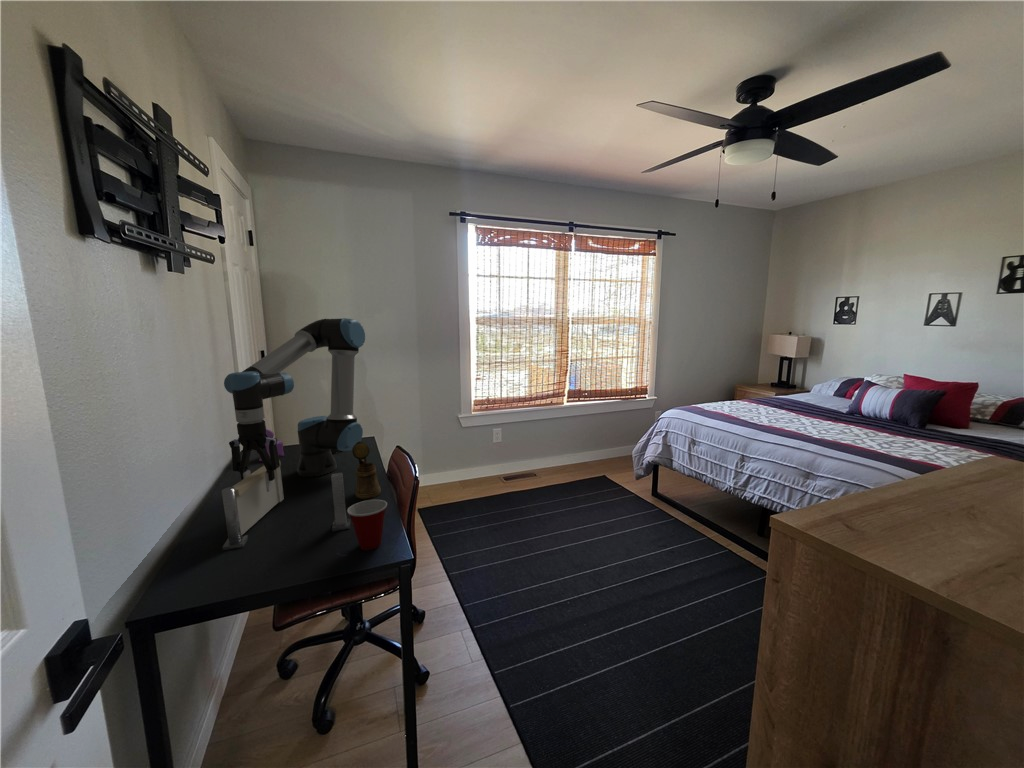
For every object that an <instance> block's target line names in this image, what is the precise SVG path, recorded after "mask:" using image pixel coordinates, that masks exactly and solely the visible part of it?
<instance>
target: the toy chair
mask: <svg viewBox="0 0 1024 768" xmlns="http://www.w3.org/2000/svg"><path fill="white" fill-rule="evenodd" d="M266 435H267V436H268V438H272V439H274V438H275V434H274V432H273V431H272V430H270V429H267V428H266ZM265 446H266V448H267V449H266V450H267V452H268V454H269V456H270V452H269V445H268V443H267V442H266V443H265ZM276 446H277V451H278V457H280V456H283V457H284V456H285V453H284V443H283V440H277V444H276ZM258 461H259V462H263V461H262V459H261V457H260V456H259V460H258Z"/></svg>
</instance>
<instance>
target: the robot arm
mask: <svg viewBox="0 0 1024 768" xmlns="http://www.w3.org/2000/svg"><path fill="white" fill-rule="evenodd" d="M365 342H366V332H365V329H364V326H362V324H361V322H359V320H357V319H354V318H346V317H345V318H344V317H343V318H321V319H317V320H316V321H314V322H311V323H309V324H306V325H305V326H304V327H302V328H301V329H299V330H297V331H296V332H295V333H294V336H293V337H292V338H290V339H289V340H287V341H286V342H285V343H283V344H281V345H280V346H278V347H276V349H274V350H272V351H271V352H270V353H267V355H265V356H264V357H262V358H261V359H259V360H257V361H256V362H254V363H253V364H252V365H250V366H249V367H247V368H245V369H244V370H243V371H236V372H231V373H228V374H227V375H226V377H225V378H224V381H223V386H224V389H225V391H227V392H228V393H229V394H231V395H232V399H233V406H234V415H235V419H236V420H235V422H237V424H236V429H237V430H236V431H237V434H238V437H237V438H236V439H233V440H231V441H228V445H229V447H230V450H231V463H232V471H233V472H239V473H240V481H241V480H243V479H244V478H246V477H247V476H249V475H250V474H252V473H251V469H249V467H248V466H249V462H250V458H251V457H250V456H251V454H252V451H256V453H257V454H258V455H259V458H260V457H261V459H262V461H261V462H262V464H263V466H265V468H266V470H267V471H266V472H265V482H266V490H267V492H269V491H271V490H272V489H273V480H274V479H275V475H274V470H276V469H277V468H278V467H279V466H280V463H279V460H280V458H279V457H280V456H278V451H277V446H276V444H277V441H278V438H277V437H273V438H268V436H267V435H266V429H267V426H266V421H265V420H264V419H265V418H266V417H265V410H264V401H263V400H267V399H272V398H276V397H280V396H282V397H283V396H284V395H288V394H290V393H291V392H292V391H293V390H294V388H295V381H294V378H293V377H292V376H291V375H290V374H289V373H287V372H282V371H284V370H285V369H286V368H288V367H289V366H291V365H293V363H295V362H296V361H298V360H299V359H300V358H302V357H303V356H304V355H307V354H308V353H312V352H314V351H315V350H318V349H321V348H327V351H328V352H329V354H331V379H330V380H331V382H330V384H331V385H330V387H331V388H330V414H329V415H319V416H318V415H317V416H312V417H307V418H304V419H302V420H300V421H299V422H298V423H297V436H298V445H299V453H300V455H299V460H298V464H297V468H296V470H297V475H298V476H300V477H304V478H313V476H315V477H321V476H325V475H327V473H328V474H330V472H331V473H332V472H334V471H335V470H336V469H337V468H338V467H337V461H336V459H335V457H334V455H333V454H332V453H331V449H333V450H340V451H342V452H344V451H345V452H346V451H352V448H353V446H354V445H355V444H356V443H357V442H359V441H360V442H362V438H363V434H364V431H363V427H362V425H361V424H360V423H359V422H357V421H358V417H357V416H356V415H355V414H354V398H355V397H354V394H355V393H354V391H355V388H354V387H355V360H356V359H355V356H356V355H357V354H358V353H359V351H360V350H359V348H362V347H363V346H364V343H365ZM266 442H267V443H268V445H269V452H270V456H269V454H268V452H267V450H266V449H267V448H266V446H265V443H266ZM240 445H241V446H242V451H241V446H240ZM241 453H242V454H241ZM280 467H281V466H280ZM324 474H325V475H324ZM320 475H321V476H320Z"/></svg>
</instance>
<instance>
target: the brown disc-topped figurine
mask: <svg viewBox="0 0 1024 768" xmlns="http://www.w3.org/2000/svg"><path fill="white" fill-rule="evenodd" d="M351 451H352V455H353V456H354V458H356V459H357V460H358V465H357V467H356V471H355V475H356V486H355V487H356V488H355V492H354V493H355V494H354V496H355V497H356V498H358V499H362V500H363V499H364V500H366V499H367V500H369V499H372V498H373V499H374V498H375V497H378V496H380V495H381V493H382V490H381V486H380V484H379V479H378V475H377V467H376V466H375V463H374V462H368V461H367V457H368V456H369V454H370V448H369V445H367V444H366V443H365V442H364V441H363V442H362V441H359V442H357V443H356V444H355V445H354V446H353V448H352V450H351Z"/></svg>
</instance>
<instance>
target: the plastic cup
mask: <svg viewBox="0 0 1024 768" xmlns="http://www.w3.org/2000/svg"><path fill="white" fill-rule="evenodd" d="M387 506H388V502H387V501H386V500H383V499H367V500H363V501H360V502H357V503H354V504H352V505H351V506H349V507H348V508H347V510H346V513H347V514H348V515H349V518H350V521H351V522H352V525H353V526H352V527H353V528H354V532H355V536H356V538H357V541H358V546H359V547H360V549H361V550H363V551H372V550H374V549H377V548H378V547H380V545H381V543H382V536H383V532H384V531H383V529H384V522H385V521H384V519H385V514H386V509H387Z"/></svg>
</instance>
